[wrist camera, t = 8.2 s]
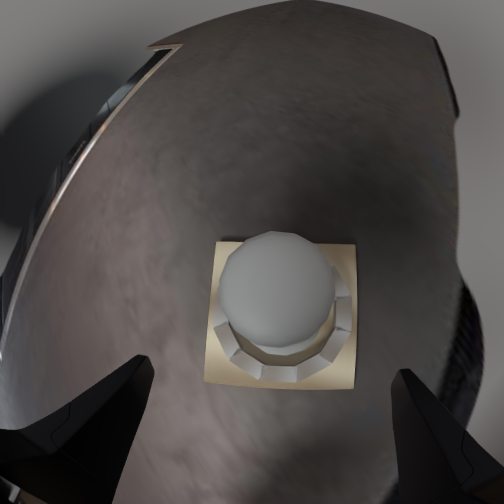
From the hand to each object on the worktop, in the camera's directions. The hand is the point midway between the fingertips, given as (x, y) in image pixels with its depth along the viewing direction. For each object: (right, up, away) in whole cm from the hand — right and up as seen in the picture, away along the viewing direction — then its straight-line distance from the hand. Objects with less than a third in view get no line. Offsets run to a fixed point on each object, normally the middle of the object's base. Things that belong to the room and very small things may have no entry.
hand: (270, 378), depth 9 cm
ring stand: (+2, -1, +13) cm, 14 cm away
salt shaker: (+2, -1, +13) cm, 13 cm away
